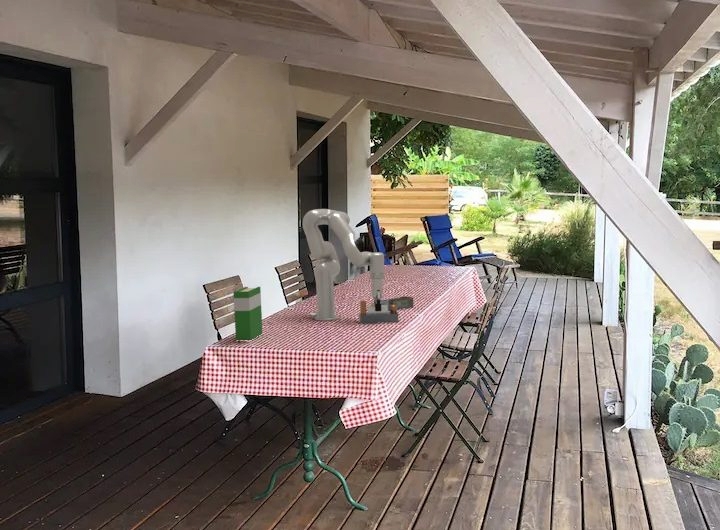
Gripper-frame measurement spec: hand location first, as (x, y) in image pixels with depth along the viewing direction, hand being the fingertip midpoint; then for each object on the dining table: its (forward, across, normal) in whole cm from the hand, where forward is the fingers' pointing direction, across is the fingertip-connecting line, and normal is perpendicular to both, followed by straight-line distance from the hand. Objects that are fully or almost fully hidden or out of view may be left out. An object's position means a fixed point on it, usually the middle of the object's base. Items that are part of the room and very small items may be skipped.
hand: (377, 309), depth 377 cm
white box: (+1, 0, 0) cm, 1 cm away
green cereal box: (+7, +27, -66) cm, 71 cm away
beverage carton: (+7, -39, +16) cm, 43 cm away
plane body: (+6, 0, 0) cm, 6 cm away
